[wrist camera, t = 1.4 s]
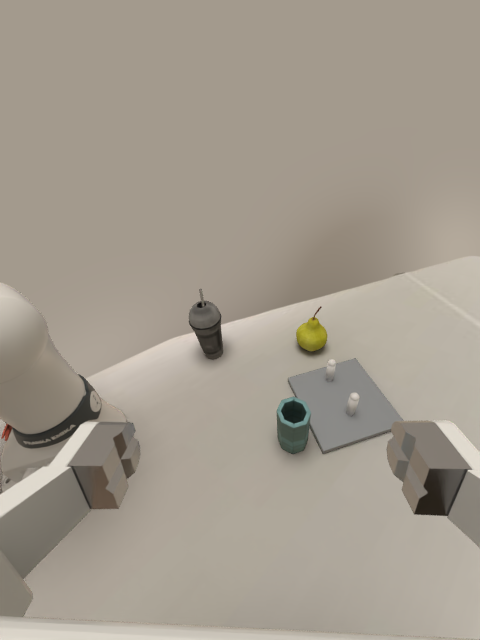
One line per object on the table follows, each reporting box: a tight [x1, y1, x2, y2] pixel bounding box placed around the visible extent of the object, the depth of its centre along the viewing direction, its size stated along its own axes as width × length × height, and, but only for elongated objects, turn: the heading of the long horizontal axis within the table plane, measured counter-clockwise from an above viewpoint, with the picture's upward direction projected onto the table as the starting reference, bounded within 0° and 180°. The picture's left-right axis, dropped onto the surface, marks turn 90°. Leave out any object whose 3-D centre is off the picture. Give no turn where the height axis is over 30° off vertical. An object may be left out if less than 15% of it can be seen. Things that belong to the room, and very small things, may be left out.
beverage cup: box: [189, 289, 223, 359], centre depth 61 cm, size 7×7×20 cm
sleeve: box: [277, 397, 311, 454], centre depth 46 cm, size 5×5×10 cm
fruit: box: [296, 307, 327, 351], centre depth 62 cm, size 7×7×12 cm
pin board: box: [288, 358, 404, 454], centre depth 52 cm, size 16×16×7 cm
